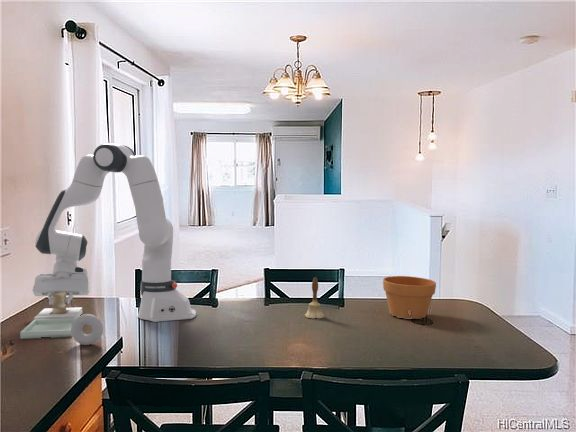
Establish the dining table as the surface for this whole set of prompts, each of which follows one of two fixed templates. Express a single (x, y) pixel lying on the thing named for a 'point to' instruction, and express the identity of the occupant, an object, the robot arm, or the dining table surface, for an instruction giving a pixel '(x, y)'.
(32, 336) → the tray
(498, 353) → the dining table surface
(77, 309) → the pocket plate
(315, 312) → the hand bell
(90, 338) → the donut
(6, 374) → the dining table surface
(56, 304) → the maple block
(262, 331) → the dining table surface
